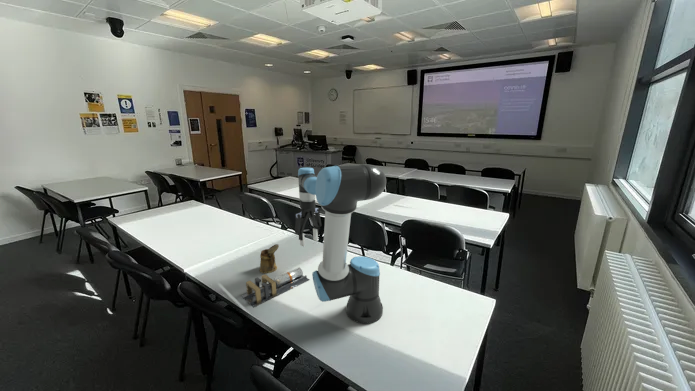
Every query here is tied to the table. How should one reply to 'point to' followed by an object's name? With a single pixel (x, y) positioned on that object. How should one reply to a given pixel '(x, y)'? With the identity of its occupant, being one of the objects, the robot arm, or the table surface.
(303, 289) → the table surface
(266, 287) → the aperture bridge
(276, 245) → the wooden mug
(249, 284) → the collar
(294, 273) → the tube
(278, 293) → the dark grey base rail
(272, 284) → the collar
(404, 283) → the table surface
